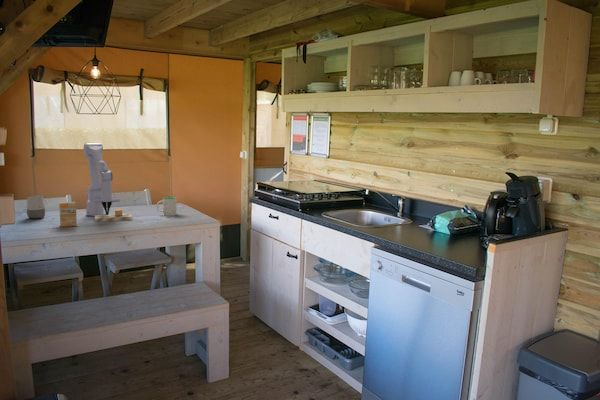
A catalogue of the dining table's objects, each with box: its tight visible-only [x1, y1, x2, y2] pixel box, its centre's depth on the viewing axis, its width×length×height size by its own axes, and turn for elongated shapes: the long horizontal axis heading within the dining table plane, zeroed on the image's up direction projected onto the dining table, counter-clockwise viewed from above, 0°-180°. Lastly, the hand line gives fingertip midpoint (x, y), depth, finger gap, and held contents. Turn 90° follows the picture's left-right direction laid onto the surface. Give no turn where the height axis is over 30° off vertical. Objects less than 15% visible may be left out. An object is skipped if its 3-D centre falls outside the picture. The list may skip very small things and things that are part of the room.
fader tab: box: [114, 208, 123, 216], centre depth 288 cm, size 4×4×3 cm
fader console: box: [94, 213, 133, 223], centre depth 287 cm, size 20×10×2 cm, turn 113°
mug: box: [156, 196, 178, 216], centre depth 304 cm, size 12×8×10 cm
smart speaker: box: [26, 194, 46, 220], centre depth 284 cm, size 10×9×14 cm
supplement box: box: [58, 201, 78, 227], centre depth 266 cm, size 8×5×13 cm, turn 118°
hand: (107, 214), depth 285 cm, fingers closed
